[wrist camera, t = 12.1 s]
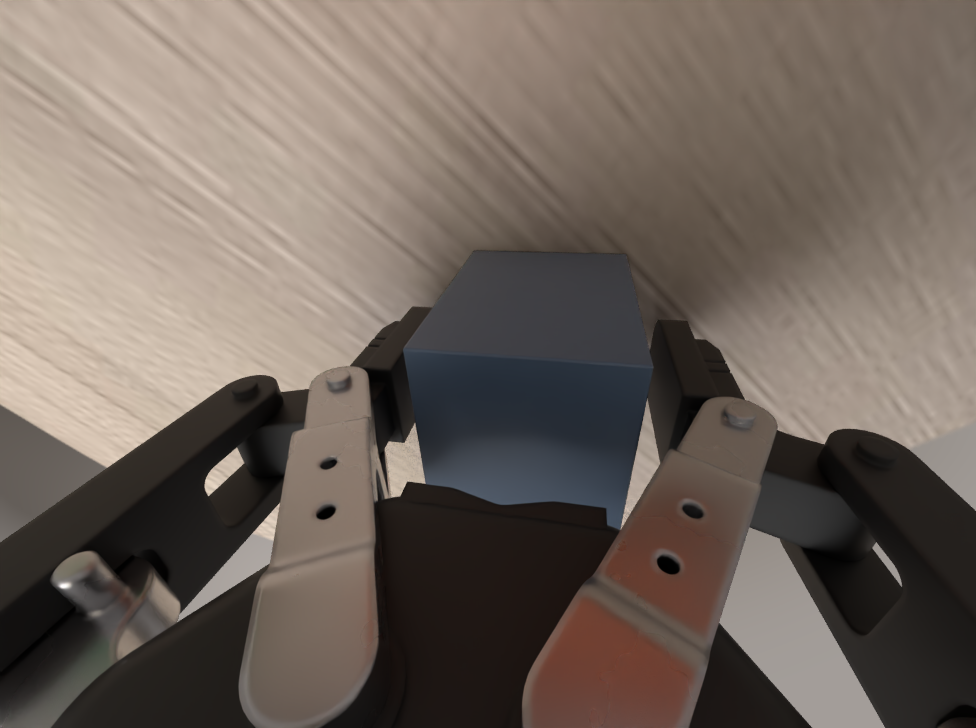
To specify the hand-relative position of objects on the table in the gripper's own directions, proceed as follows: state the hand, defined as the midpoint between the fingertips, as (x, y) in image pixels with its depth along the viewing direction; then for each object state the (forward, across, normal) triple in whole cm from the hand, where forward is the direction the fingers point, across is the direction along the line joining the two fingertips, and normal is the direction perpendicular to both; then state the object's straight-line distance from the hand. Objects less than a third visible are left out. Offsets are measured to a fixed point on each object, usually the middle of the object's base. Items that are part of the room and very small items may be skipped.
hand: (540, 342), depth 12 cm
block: (+1, 0, 0) cm, 1 cm away
